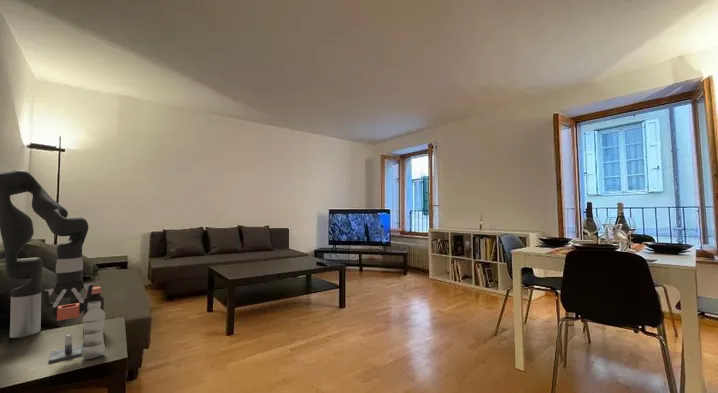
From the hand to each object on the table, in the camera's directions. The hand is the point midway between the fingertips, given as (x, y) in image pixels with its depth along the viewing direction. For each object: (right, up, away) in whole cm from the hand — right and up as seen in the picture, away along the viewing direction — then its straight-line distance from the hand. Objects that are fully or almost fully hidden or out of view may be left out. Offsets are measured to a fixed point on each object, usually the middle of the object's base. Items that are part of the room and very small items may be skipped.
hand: (68, 314), depth 117 cm
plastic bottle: (+12, -15, -3) cm, 19 cm away
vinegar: (-6, -16, +18) cm, 25 cm away
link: (0, -1, 0) cm, 1 cm away
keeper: (0, -15, 0) cm, 15 cm away
